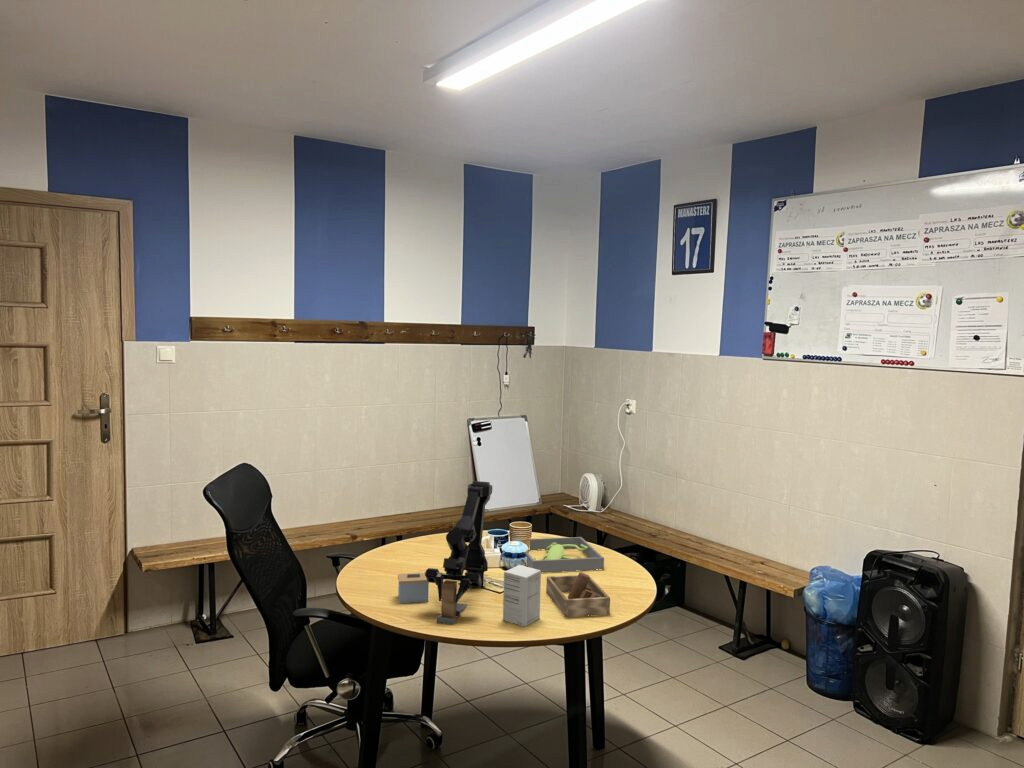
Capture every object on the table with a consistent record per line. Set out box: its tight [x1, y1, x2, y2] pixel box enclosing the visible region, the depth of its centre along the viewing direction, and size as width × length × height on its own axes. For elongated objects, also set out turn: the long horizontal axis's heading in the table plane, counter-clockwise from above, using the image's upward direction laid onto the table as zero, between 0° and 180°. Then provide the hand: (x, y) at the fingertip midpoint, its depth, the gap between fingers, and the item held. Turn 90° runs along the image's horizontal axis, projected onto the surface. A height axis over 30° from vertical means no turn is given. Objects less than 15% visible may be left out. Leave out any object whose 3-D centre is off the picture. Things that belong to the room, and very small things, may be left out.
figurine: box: [532, 542, 588, 560], centre depth 315 cm, size 18×27×6 cm
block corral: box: [545, 574, 611, 618], centre depth 267 cm, size 16×24×6 cm, turn 13°
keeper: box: [435, 609, 462, 625], centre depth 249 cm, size 8×6×2 cm
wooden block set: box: [567, 571, 602, 599], centre depth 266 cm, size 18×9×10 cm, turn 12°
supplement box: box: [502, 564, 542, 627], centre depth 250 cm, size 10×9×17 cm
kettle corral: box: [526, 536, 605, 574], centre depth 315 cm, size 30×30×5 cm
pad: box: [456, 602, 468, 613], centre depth 259 cm, size 6×6×1 cm
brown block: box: [440, 579, 458, 619], centre depth 249 cm, size 4×4×12 cm
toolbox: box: [397, 572, 430, 604], centre depth 266 cm, size 11×8×9 cm
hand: (447, 601), depth 248 cm, fingers open, 5 cm apart
